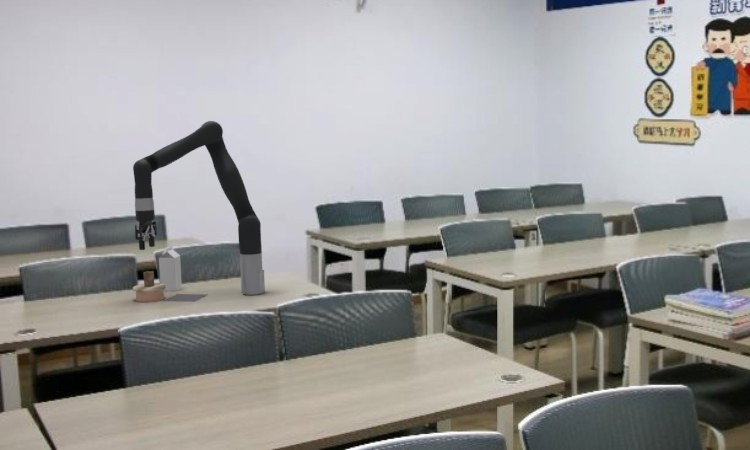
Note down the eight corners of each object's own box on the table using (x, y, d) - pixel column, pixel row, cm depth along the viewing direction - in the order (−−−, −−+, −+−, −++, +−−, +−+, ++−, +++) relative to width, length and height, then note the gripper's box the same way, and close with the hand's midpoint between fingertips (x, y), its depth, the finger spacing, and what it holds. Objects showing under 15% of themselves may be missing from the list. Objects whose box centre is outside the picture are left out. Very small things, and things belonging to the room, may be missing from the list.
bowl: (168, 297, 345) (167, 286, 344) (156, 303, 334) (155, 291, 334) (144, 297, 347) (143, 285, 346) (131, 303, 336) (130, 291, 336)
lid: (171, 285, 345) (170, 269, 344) (156, 292, 332) (155, 275, 332) (142, 285, 348) (141, 268, 347) (127, 291, 335) (126, 274, 334)
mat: (208, 295, 347) (208, 294, 347) (194, 303, 334) (194, 301, 333) (177, 295, 350) (177, 293, 350) (162, 302, 336) (162, 300, 336)
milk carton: (182, 289, 363) (179, 246, 361) (176, 292, 356) (174, 248, 354) (166, 289, 364) (164, 246, 362) (160, 292, 357) (158, 249, 355)
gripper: (145, 210, 328) (147, 251, 330) (161, 207, 342) (163, 245, 344) (127, 210, 330) (130, 251, 332) (144, 207, 344) (146, 245, 346)
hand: (147, 248), depth 338 cm, fingers open, 8 cm apart
